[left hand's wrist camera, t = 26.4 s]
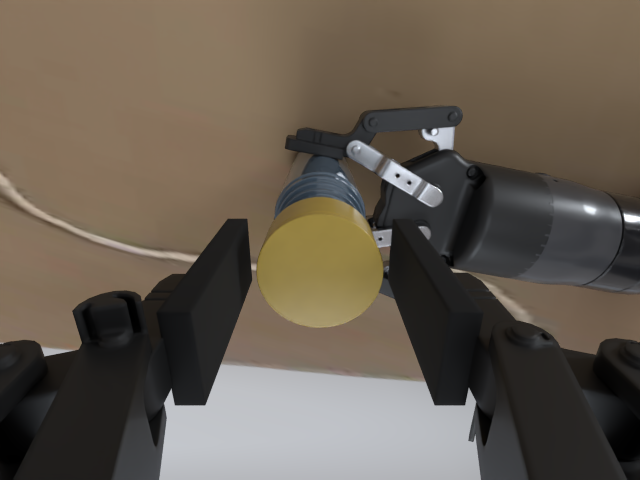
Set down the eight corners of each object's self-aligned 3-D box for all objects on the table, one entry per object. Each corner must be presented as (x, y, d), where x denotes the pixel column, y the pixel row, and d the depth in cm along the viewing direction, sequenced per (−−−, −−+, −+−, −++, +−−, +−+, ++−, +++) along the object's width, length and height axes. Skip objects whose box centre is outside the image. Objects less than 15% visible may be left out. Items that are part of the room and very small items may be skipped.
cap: (254, 280, 15) (243, 310, 13) (281, 182, 13) (274, 197, 11) (353, 307, 15) (358, 340, 13) (390, 215, 14) (403, 236, 12)
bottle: (294, 139, 29) (258, 196, 12) (351, 145, 29) (394, 210, 12) (290, 195, 31) (254, 313, 14) (344, 200, 31) (372, 323, 14)
